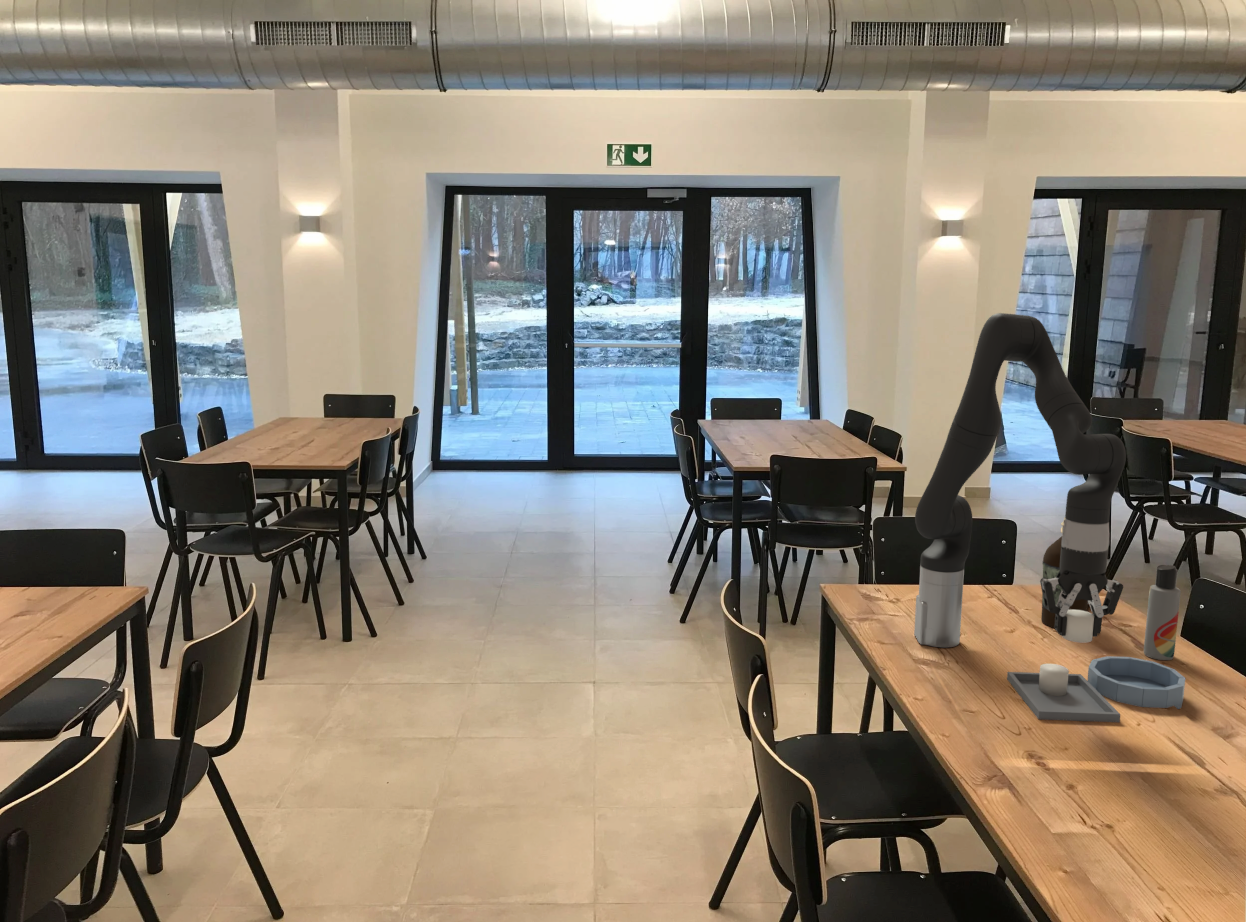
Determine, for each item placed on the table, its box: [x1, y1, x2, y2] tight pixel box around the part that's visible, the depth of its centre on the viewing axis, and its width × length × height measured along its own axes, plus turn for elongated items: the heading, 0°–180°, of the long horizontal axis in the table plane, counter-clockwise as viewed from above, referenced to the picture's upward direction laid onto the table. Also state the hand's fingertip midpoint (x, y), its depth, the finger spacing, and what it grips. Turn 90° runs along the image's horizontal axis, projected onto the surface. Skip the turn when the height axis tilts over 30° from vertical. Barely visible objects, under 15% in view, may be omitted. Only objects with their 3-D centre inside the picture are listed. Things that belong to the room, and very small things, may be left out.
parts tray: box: [1006, 671, 1121, 724], centre depth 173 cm, size 14×18×2 cm
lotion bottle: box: [1143, 564, 1182, 661], centre depth 195 cm, size 6×6×20 cm
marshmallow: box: [1038, 663, 1070, 696], centre depth 177 cm, size 5×5×4 cm
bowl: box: [1086, 655, 1186, 710], centre depth 177 cm, size 16×16×4 cm
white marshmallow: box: [1061, 610, 1094, 644], centre depth 167 cm, size 5×5×4 cm
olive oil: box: [1040, 519, 1089, 629], centre depth 215 cm, size 11×11×25 cm
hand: (1076, 634), depth 167 cm, fingers closed on white marshmallow, 5 cm apart
